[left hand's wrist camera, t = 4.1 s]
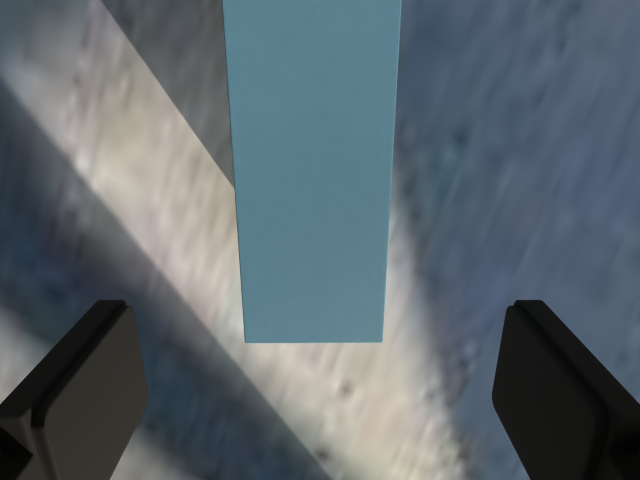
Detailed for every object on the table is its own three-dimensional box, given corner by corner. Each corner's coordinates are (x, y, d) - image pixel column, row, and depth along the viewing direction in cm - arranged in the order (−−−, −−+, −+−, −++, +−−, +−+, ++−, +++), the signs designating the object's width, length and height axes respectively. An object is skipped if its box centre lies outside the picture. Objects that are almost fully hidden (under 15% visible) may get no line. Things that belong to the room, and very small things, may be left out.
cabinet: (256, -121, 23) (201, -300, 12) (369, -120, 23) (418, -299, 12) (271, 243, 30) (244, 343, 19) (358, 243, 30) (382, 343, 19)
